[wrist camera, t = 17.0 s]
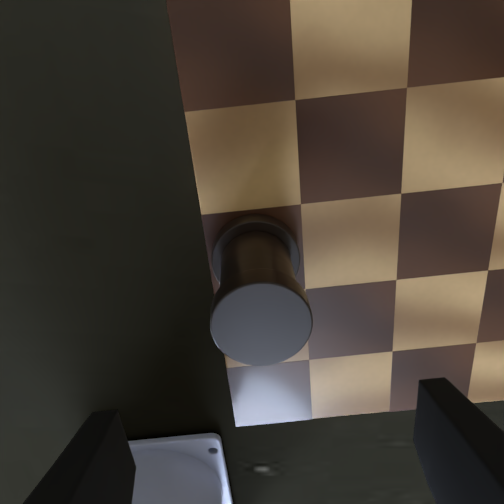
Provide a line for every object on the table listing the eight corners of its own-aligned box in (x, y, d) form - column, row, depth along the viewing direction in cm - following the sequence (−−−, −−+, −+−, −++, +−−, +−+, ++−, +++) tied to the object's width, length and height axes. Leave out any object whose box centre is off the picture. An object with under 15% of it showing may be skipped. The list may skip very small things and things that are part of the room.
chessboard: (533, 384, 24) (544, 396, 23) (235, 413, 24) (235, 426, 23) (646, -70, 15) (670, -75, 14) (166, -15, 15) (163, -17, 14)
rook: (300, 285, 20) (319, 364, 15) (218, 293, 20) (213, 375, 15) (295, 208, 18) (316, 272, 13) (206, 218, 18) (196, 284, 14)
